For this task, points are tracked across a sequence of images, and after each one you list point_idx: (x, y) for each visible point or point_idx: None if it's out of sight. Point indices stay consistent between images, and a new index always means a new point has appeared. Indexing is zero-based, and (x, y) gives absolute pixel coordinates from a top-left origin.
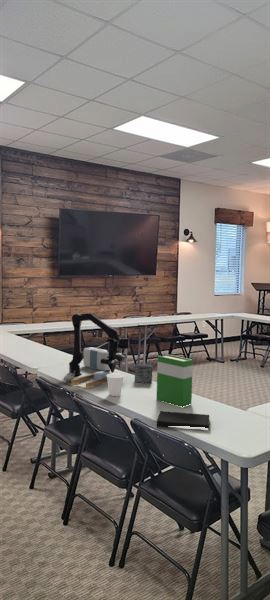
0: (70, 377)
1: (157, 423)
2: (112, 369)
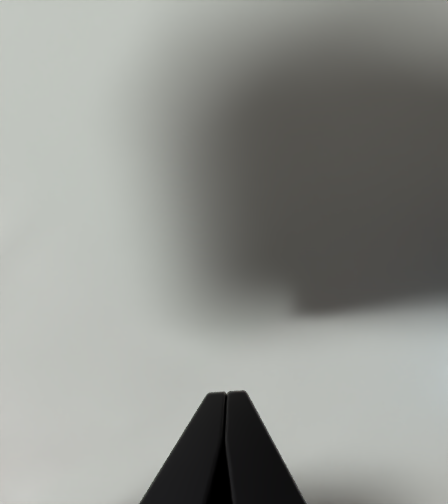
0: None
1: None
2: (292, 486)
